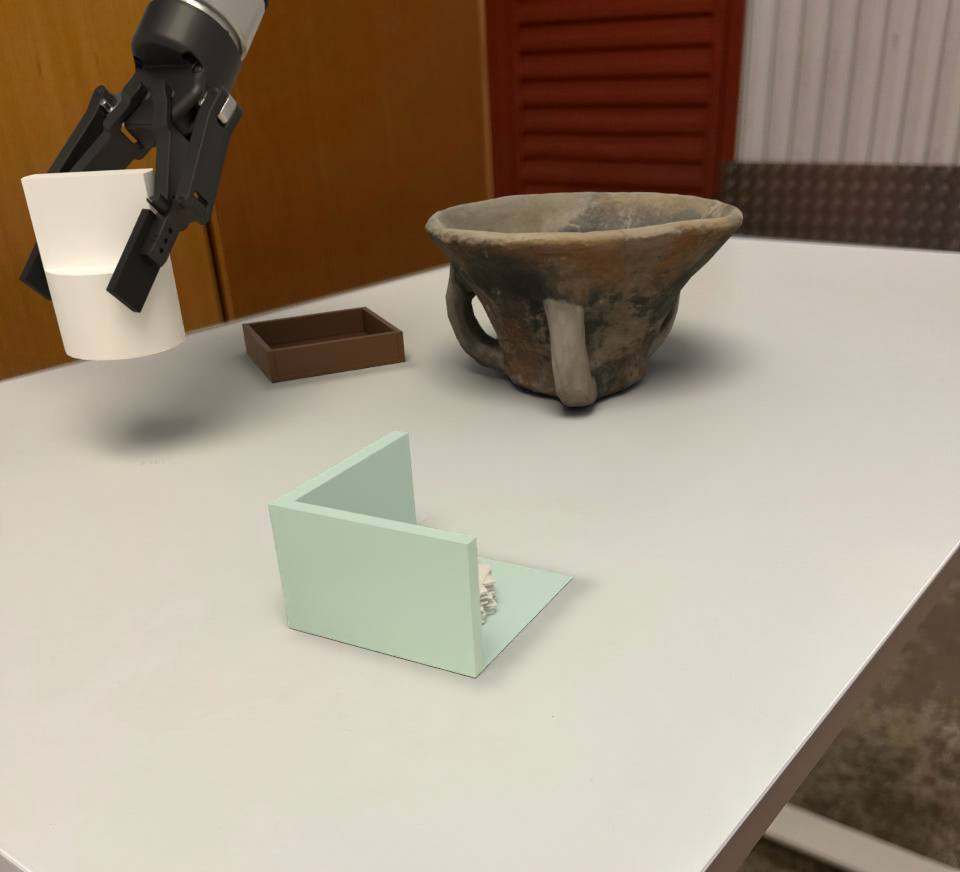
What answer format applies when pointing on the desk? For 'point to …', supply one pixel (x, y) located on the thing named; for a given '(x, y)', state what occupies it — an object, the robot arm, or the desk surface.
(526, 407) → the desk surface
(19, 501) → the desk surface
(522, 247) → the bowl
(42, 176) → the base with upright slab
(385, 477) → the l-shaped corner panel
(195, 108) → the robot arm
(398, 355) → the tray
